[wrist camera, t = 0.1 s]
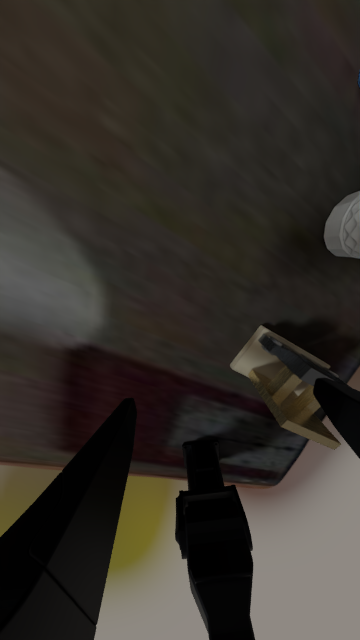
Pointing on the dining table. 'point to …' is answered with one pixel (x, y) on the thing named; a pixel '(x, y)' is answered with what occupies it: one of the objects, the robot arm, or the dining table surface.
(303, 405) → the tan notched block
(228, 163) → the dining table surface
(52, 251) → the dining table surface
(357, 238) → the white cup
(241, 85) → the dining table surface
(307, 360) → the grey two-prong bracket
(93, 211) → the dining table surface
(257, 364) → the birch board
